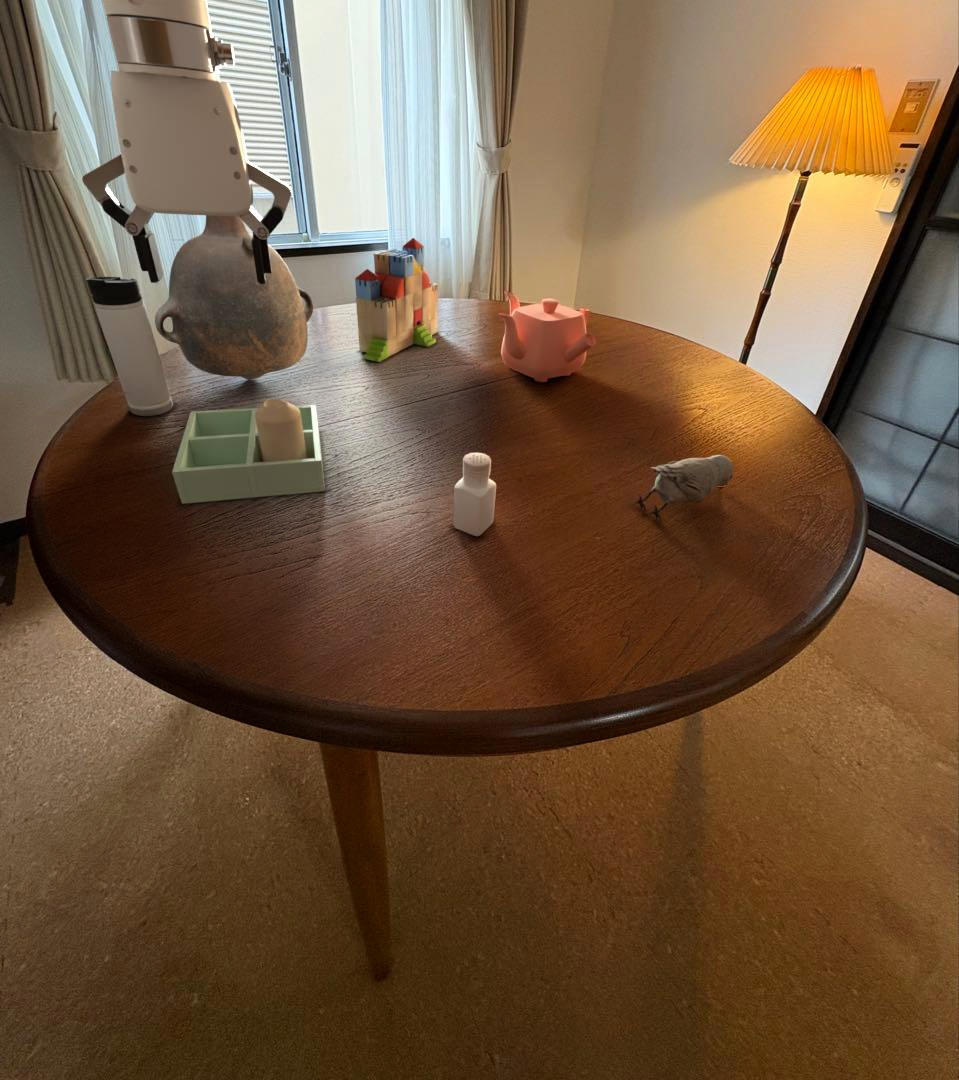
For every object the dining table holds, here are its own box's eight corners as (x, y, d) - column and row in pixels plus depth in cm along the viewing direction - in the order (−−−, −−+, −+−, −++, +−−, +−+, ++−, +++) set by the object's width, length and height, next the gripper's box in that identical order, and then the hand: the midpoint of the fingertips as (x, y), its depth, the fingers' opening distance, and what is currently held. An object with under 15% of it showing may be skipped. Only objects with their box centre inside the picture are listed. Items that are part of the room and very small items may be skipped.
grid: (181, 504, 70) (171, 472, 67) (198, 440, 83) (190, 411, 80) (325, 491, 74) (321, 460, 71) (319, 432, 87) (315, 404, 85)
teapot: (492, 383, 108) (498, 308, 99) (499, 352, 122) (505, 284, 114) (587, 393, 107) (601, 318, 98) (582, 360, 121) (594, 292, 113)
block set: (393, 366, 112) (389, 260, 100) (335, 352, 116) (325, 249, 104) (457, 331, 132) (460, 240, 121) (406, 320, 137) (404, 231, 125)
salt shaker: (467, 513, 72) (471, 447, 66) (494, 523, 70) (500, 457, 65) (450, 528, 69) (453, 460, 63) (478, 539, 68) (483, 471, 62)
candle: (317, 468, 77) (308, 399, 71) (290, 486, 73) (278, 415, 67) (285, 458, 79) (273, 390, 73) (257, 475, 75) (242, 404, 69)
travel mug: (120, 414, 88) (71, 277, 76) (146, 398, 93) (105, 268, 81) (156, 419, 88) (114, 282, 75) (181, 403, 93) (145, 272, 81)
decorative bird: (736, 498, 79) (755, 450, 75) (656, 529, 72) (671, 479, 67) (706, 480, 83) (722, 434, 78) (627, 508, 75) (639, 459, 71)
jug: (256, 416, 90) (214, 201, 72) (153, 390, 96) (91, 184, 78) (340, 369, 109) (324, 188, 91) (250, 349, 115) (218, 175, 96)
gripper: (278, 69, 51) (300, 273, 61) (58, 46, 46) (121, 270, 57) (277, 64, 45) (302, 290, 55) (27, 37, 41) (103, 288, 51)
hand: (211, 280), depth 56 cm, fingers open, 9 cm apart
